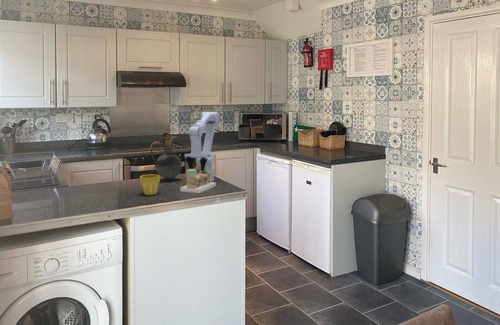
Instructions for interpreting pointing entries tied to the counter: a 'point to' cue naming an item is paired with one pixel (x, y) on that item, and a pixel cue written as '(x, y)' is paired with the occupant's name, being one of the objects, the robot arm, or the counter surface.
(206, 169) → the block
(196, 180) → the tan wooden bar
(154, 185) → the plant pot
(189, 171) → the block
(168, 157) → the pitcher
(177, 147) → the counter surface
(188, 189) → the dock
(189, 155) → the robot arm
